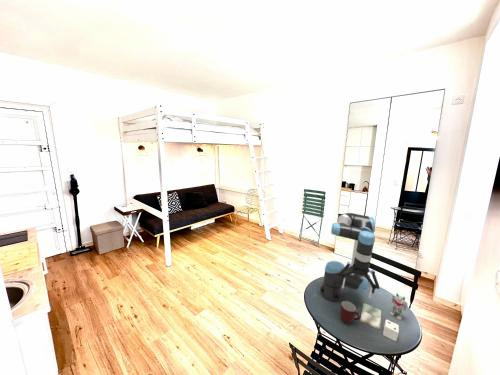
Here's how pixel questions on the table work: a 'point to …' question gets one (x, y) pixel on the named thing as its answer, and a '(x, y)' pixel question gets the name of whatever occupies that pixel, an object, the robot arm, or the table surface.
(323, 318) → the table surface
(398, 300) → the figurine
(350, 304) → the mug
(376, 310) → the board
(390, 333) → the die
